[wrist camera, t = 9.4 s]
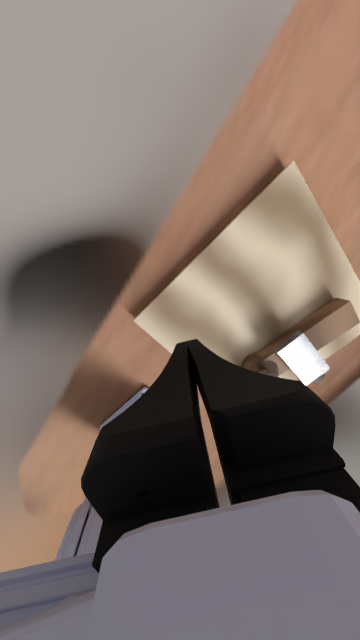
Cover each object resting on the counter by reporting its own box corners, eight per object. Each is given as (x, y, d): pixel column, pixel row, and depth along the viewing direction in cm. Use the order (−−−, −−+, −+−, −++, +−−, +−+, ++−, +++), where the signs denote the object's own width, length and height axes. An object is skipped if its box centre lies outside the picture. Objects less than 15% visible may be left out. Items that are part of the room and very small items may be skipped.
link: (251, 382, 22) (265, 403, 19) (235, 364, 21) (247, 383, 18) (346, 319, 20) (380, 330, 17) (334, 295, 19) (368, 302, 15)
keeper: (289, 371, 22) (308, 388, 19) (261, 339, 20) (277, 353, 17) (310, 356, 21) (332, 372, 18) (283, 321, 20) (303, 333, 17)
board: (241, 409, 25) (244, 416, 24) (135, 317, 19) (133, 320, 18) (369, 316, 21) (380, 319, 20) (284, 167, 16) (293, 160, 15)
